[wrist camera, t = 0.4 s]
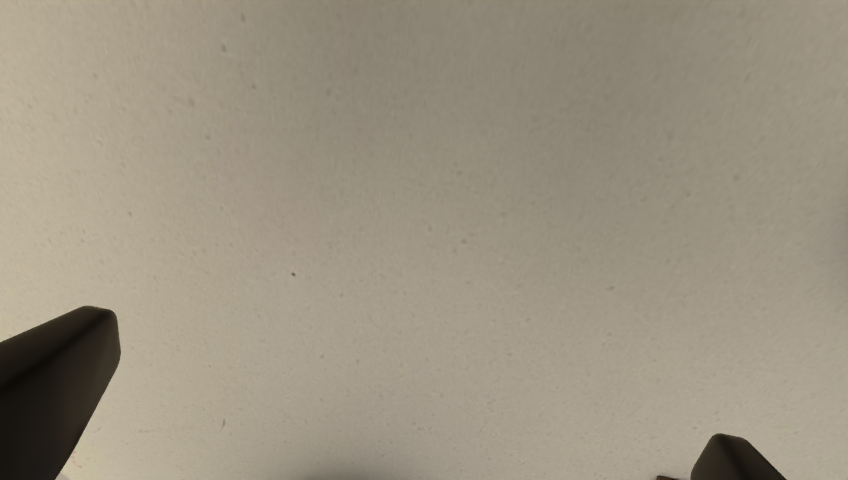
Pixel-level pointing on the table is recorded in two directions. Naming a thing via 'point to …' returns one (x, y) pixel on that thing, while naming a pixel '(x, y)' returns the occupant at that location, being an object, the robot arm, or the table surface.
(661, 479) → the spoon
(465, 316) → the table surface
